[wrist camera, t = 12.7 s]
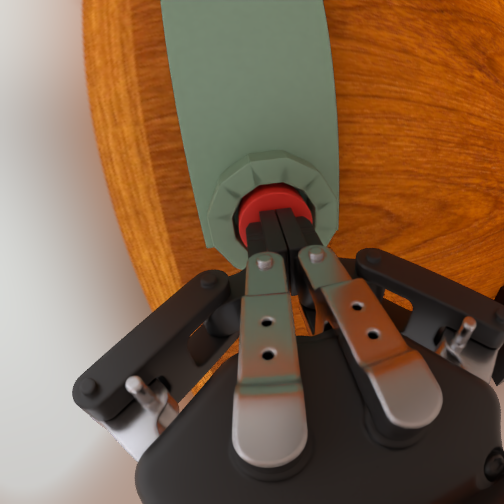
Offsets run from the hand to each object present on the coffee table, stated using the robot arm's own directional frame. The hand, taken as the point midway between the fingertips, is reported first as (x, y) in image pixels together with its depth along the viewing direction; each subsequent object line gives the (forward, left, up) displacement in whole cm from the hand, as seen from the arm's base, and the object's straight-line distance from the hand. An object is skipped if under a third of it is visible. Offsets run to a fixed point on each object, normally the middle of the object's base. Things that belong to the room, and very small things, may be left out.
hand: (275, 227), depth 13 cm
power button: (0, 0, -2) cm, 2 cm away
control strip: (+7, -2, -3) cm, 8 cm away
